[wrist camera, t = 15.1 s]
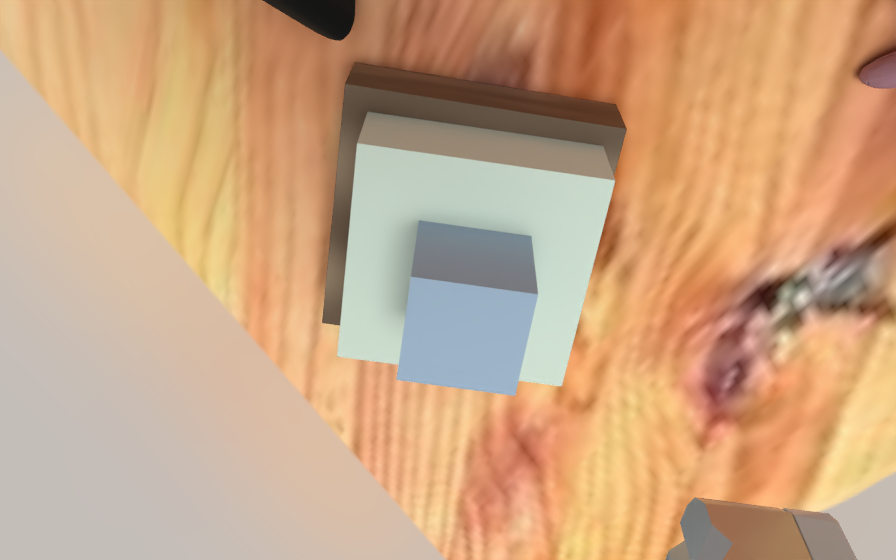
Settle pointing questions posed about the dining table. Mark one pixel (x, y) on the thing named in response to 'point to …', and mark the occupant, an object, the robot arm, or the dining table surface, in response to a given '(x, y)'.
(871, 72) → the video game controller
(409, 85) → the walnut slab
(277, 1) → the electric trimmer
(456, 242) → the blue cube
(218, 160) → the dining table surface
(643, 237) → the dining table surface
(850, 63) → the dining table surface
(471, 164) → the sage slab
